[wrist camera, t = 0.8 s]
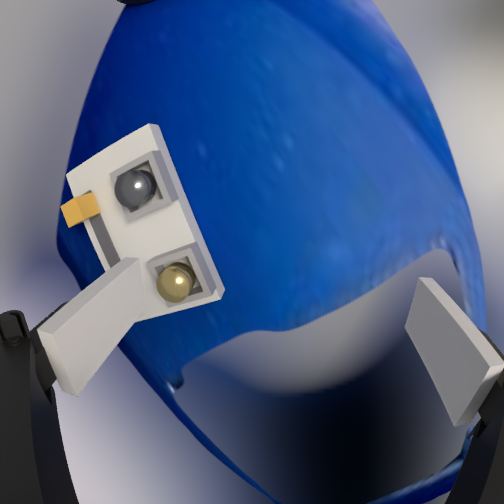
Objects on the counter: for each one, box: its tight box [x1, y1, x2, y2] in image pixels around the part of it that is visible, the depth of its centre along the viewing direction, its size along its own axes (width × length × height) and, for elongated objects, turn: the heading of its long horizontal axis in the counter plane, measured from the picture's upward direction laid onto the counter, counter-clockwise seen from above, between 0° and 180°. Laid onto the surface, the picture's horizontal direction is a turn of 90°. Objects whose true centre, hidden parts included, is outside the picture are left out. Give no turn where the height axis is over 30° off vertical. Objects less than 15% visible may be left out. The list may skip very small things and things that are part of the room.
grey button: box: [114, 170, 156, 208], centre depth 32 cm, size 4×4×3 cm
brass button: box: [156, 262, 196, 303], centre depth 35 cm, size 4×4×3 cm
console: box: [66, 124, 225, 322], centre depth 37 cm, size 24×15×6 cm, turn 20°
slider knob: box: [61, 192, 101, 228], centre depth 34 cm, size 3×3×4 cm
